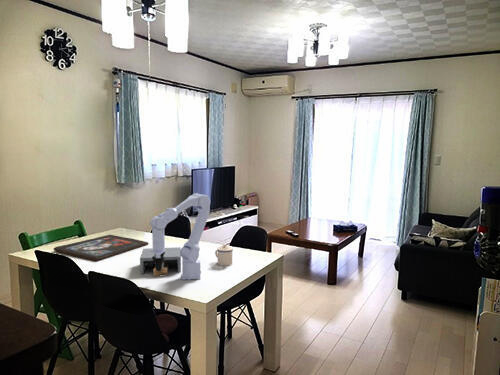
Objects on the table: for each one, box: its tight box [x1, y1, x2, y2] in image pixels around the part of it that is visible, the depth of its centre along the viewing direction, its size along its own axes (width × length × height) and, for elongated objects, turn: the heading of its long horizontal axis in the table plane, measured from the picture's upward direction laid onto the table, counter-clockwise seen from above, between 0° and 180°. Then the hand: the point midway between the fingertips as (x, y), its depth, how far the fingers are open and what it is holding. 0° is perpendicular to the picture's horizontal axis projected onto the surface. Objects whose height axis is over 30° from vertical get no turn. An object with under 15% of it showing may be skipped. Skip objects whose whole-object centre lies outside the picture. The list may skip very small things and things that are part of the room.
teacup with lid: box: [214, 243, 233, 267], centre depth 214 cm, size 12×9×12 cm
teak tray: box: [153, 260, 169, 277], centre depth 199 cm, size 7×16×6 cm, turn 11°
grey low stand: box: [139, 246, 182, 275], centre depth 204 cm, size 21×18×9 cm
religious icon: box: [53, 234, 149, 262], centre depth 241 cm, size 40×45×3 cm
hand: (159, 267), depth 180 cm, fingers open, 7 cm apart
